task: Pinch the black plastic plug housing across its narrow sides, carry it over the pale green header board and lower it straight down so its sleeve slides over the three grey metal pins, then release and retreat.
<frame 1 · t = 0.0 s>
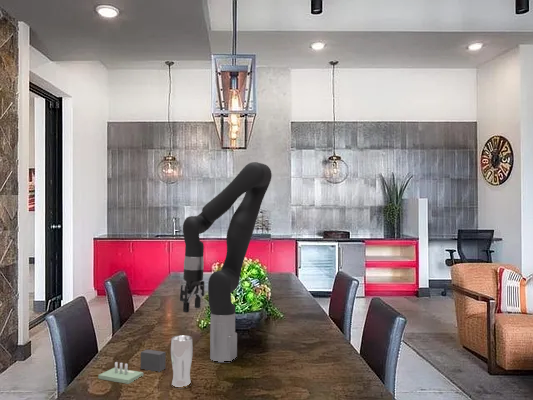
hand: (191, 310, 190), 17 cm above the table, tool pointing down, fingers open, 8 cm apart
plug housing: (153, 369, 173), on the table
beer glass: (181, 385, 158), on the table
header board: (121, 377, 165), on the table
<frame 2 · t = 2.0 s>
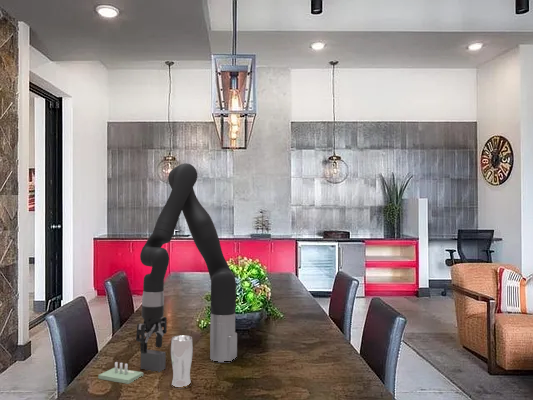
hand: (151, 350, 174), 6 cm above the table, tool pointing down, fingers open, 8 cm apart
nothing on the table moved.
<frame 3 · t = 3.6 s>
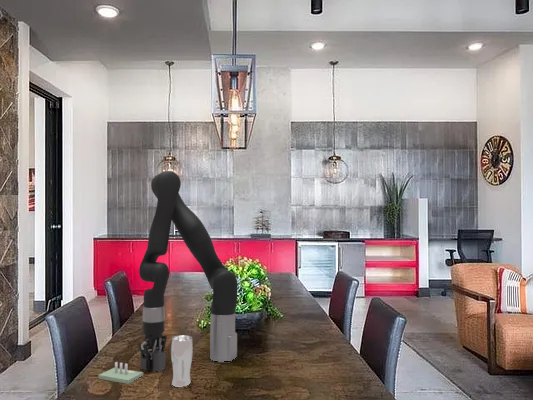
hand: (153, 368, 173), 0 cm above the table, tool pointing down, fingers closed on plug housing, 3 cm apart
plug housing: (153, 369, 173), on the table, touching gripper
everything else where it was.
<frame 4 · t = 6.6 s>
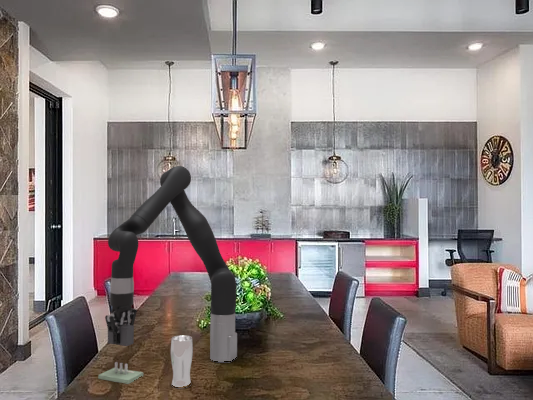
hand: (120, 342, 165), 12 cm above the table, tool pointing down, fingers closed on plug housing, 3 cm apart
plug housing: (120, 343, 165), point 11 cm above the table, touching gripper
everything else where it was.
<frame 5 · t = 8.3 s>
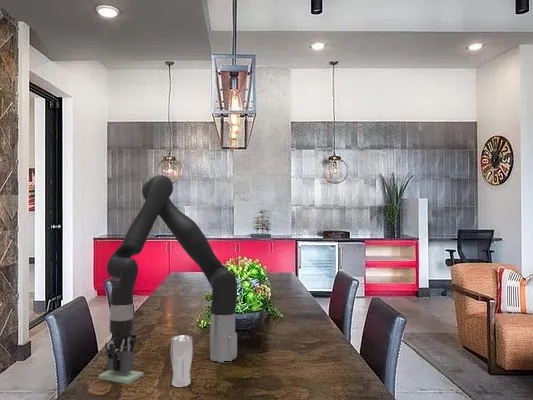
hand: (120, 368, 165), 3 cm above the table, tool pointing down, fingers closed on plug housing, 3 cm apart
plug housing: (120, 369, 165), point 2 cm above the table, touching gripper
everything else where it was.
when the fingers open (2 cm above the table, at t = 9.5 s): plug housing stays where it is, resting on header board.
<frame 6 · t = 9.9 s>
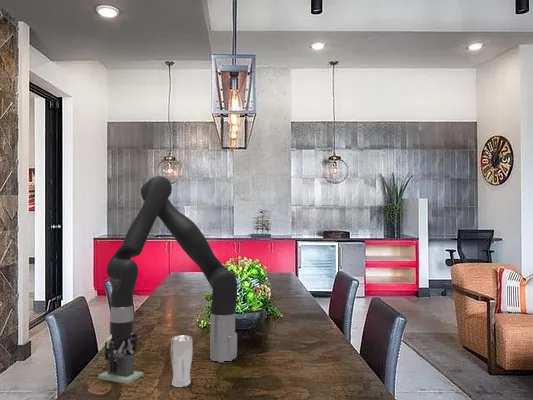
hand: (121, 368, 165), 3 cm above the table, tool pointing down, fingers open, 7 cm apart
plug housing: (120, 373, 165), point 1 cm above the table, touching header board
everything else where it was.
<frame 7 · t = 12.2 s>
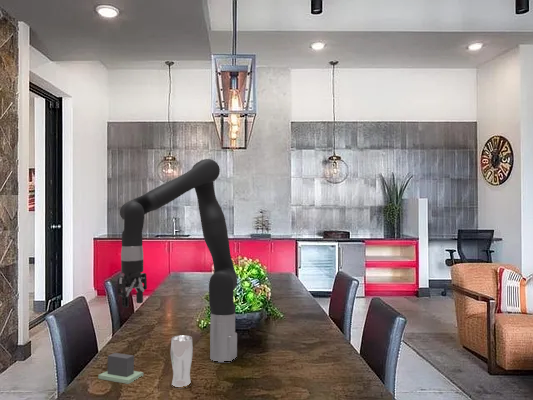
hand: (132, 305, 173), 22 cm above the table, tool pointing down, fingers open, 8 cm apart
nothing on the table moved.
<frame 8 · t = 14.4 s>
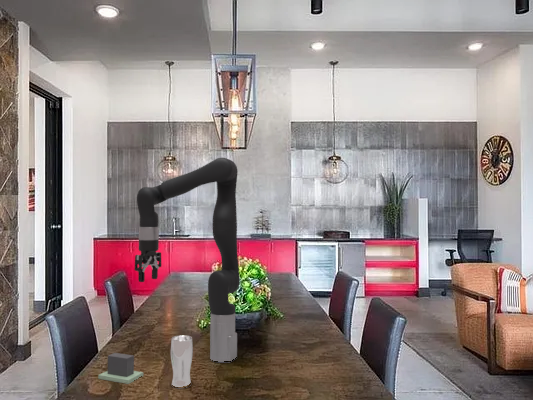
hand: (148, 280, 192), 28 cm above the table, tool pointing down, fingers open, 8 cm apart
nothing on the table moved.
at the end: plug housing 0.1 cm off-centre on the header board, point 1.2 cm above the header board's base; plug housing tilted 0°; the gripper is holding nothing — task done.
